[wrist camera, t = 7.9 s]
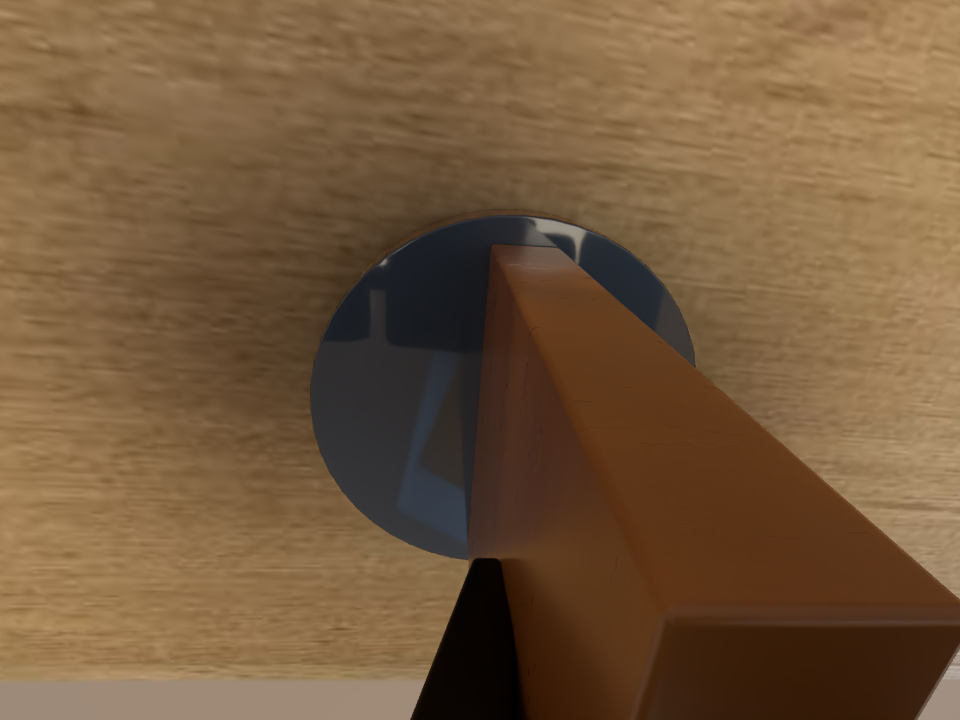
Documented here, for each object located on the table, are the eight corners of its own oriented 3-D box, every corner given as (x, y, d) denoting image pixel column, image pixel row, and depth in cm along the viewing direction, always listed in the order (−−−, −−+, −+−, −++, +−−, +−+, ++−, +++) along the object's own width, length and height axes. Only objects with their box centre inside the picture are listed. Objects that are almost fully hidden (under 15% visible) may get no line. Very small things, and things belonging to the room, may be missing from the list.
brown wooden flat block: (467, 543, 15) (501, 1199, 6) (491, 243, 12) (666, 617, 2) (522, 544, 15) (643, 1186, 6) (560, 247, 12) (991, 618, 2)
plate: (541, 578, 17) (548, 608, 16) (258, 445, 14) (243, 469, 13) (751, 339, 14) (776, 356, 13) (444, 121, 12) (444, 118, 10)
